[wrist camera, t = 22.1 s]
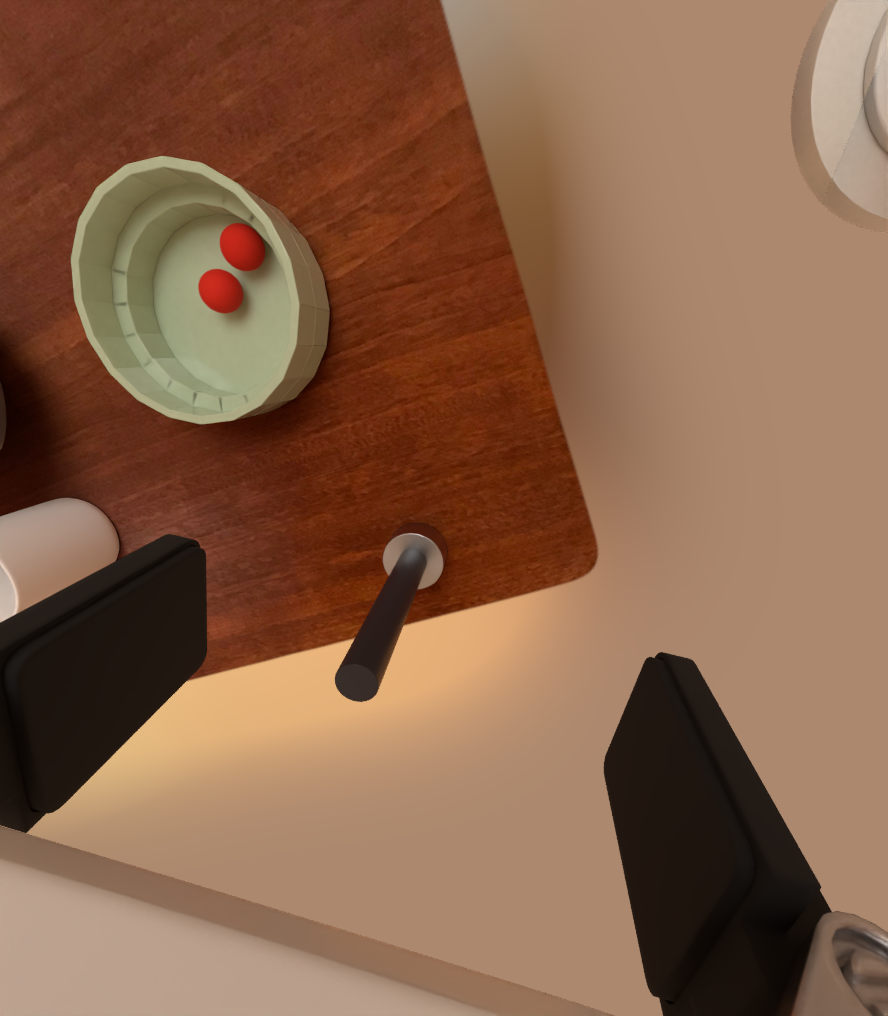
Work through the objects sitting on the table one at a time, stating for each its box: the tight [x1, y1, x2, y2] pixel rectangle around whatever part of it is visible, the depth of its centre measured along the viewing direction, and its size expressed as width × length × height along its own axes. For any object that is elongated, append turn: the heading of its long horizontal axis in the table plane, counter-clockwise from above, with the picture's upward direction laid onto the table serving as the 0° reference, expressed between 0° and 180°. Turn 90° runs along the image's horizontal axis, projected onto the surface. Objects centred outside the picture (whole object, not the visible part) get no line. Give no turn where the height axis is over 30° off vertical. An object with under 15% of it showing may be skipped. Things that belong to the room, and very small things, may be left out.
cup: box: [0, 498, 119, 622], centre depth 41 cm, size 8×12×10 cm
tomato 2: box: [198, 269, 243, 313], centre depth 34 cm, size 3×3×3 cm
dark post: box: [335, 523, 447, 702], centre depth 32 cm, size 5×5×18 cm
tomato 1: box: [220, 223, 265, 271], centre depth 32 cm, size 3×3×3 cm
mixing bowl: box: [71, 156, 330, 424], centre depth 33 cm, size 16×16×6 cm
